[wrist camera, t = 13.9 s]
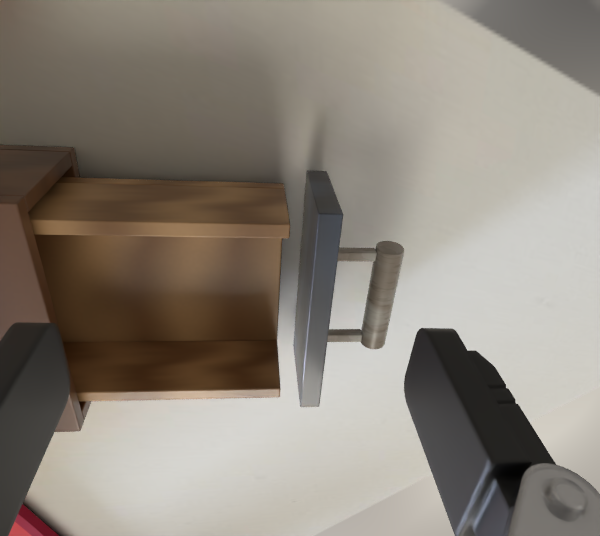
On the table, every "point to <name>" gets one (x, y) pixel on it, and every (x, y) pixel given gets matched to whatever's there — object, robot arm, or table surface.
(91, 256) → the drawer
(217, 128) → the table surface
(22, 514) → the red board with handle
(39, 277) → the cabinet
